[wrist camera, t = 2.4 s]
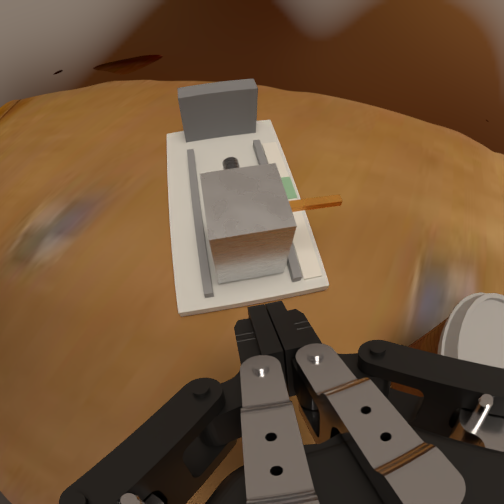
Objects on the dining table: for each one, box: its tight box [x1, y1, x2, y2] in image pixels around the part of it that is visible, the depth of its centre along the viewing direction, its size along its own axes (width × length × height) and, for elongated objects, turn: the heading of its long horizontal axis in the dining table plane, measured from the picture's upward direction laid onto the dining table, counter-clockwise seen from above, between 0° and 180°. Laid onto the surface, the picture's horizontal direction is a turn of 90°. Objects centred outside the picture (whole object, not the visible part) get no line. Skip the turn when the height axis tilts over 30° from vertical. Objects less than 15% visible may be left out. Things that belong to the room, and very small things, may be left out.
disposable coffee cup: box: [391, 293, 504, 397], centre depth 19 cm, size 10×10×12 cm
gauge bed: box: [167, 79, 329, 317], centre depth 29 cm, size 14×24×8 cm, turn 11°
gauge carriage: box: [200, 157, 342, 284], centre depth 26 cm, size 11×11×8 cm
